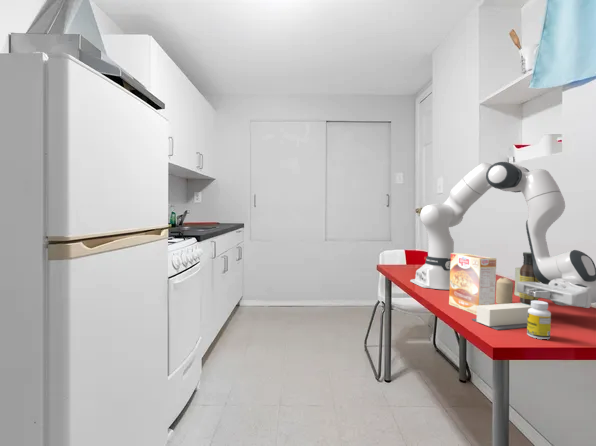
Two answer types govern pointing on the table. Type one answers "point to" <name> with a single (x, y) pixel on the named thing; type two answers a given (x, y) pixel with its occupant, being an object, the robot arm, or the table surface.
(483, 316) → the block
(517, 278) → the can
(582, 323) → the table surface
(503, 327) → the mat
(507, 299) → the candle
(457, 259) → the coffeecake box
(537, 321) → the supplement bottle
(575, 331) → the table surface
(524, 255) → the sauce bottle
